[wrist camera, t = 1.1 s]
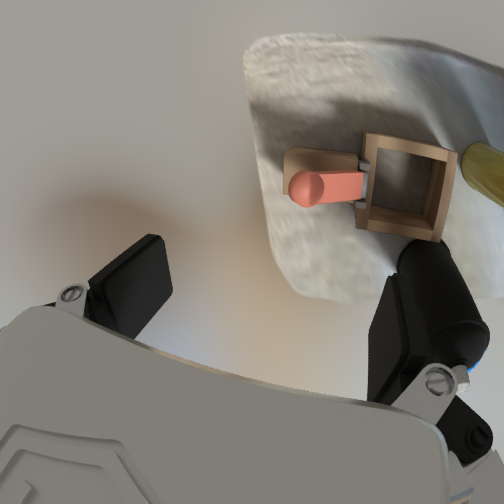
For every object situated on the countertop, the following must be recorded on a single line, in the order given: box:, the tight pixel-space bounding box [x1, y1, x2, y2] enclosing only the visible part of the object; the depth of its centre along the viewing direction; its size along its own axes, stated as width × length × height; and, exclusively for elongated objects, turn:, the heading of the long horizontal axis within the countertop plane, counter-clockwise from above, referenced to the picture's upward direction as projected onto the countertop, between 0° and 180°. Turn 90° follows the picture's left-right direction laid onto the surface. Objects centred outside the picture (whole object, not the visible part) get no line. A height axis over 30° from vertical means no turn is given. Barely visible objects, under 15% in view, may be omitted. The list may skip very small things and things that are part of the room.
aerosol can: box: [397, 239, 490, 395], centre depth 23 cm, size 8×8×20 cm
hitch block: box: [283, 131, 458, 243], centre depth 26 cm, size 18×10×7 cm, turn 91°
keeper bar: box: [288, 170, 368, 207], centre depth 23 cm, size 8×3×1 cm
